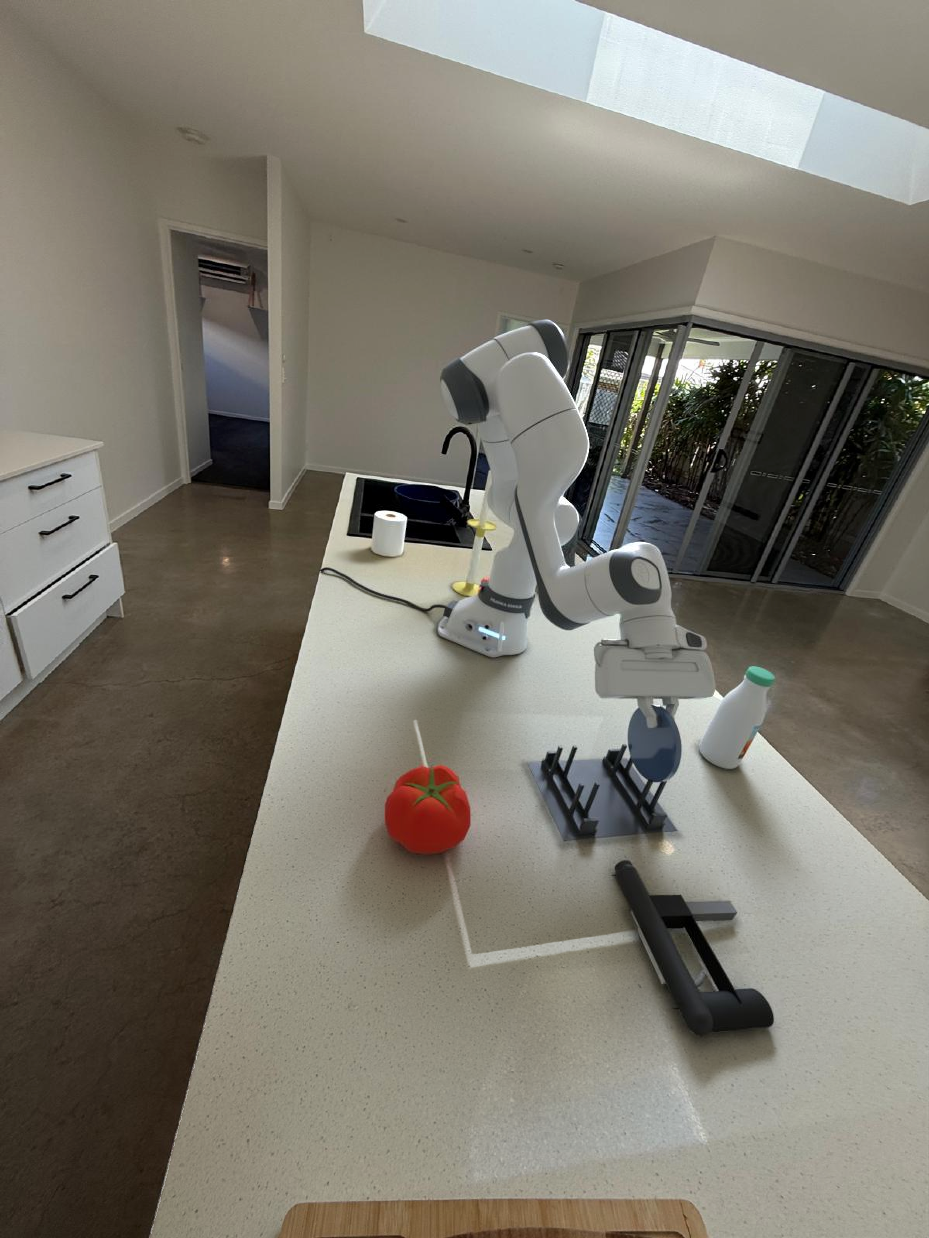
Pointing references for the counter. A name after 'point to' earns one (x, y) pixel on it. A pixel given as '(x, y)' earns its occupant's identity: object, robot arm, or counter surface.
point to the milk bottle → (737, 720)
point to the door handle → (695, 1007)
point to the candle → (476, 546)
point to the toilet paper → (388, 533)
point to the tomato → (428, 810)
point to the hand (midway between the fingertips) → (661, 727)
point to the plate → (654, 745)
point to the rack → (599, 796)
